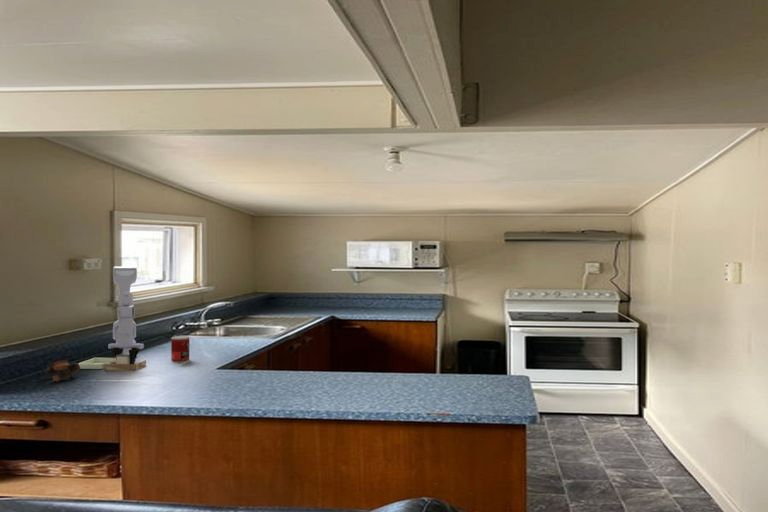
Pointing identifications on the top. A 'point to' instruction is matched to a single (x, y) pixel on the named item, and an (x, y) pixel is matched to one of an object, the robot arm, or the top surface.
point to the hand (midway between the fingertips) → (126, 365)
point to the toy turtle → (62, 370)
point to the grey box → (123, 358)
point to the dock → (124, 366)
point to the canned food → (180, 348)
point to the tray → (95, 363)
